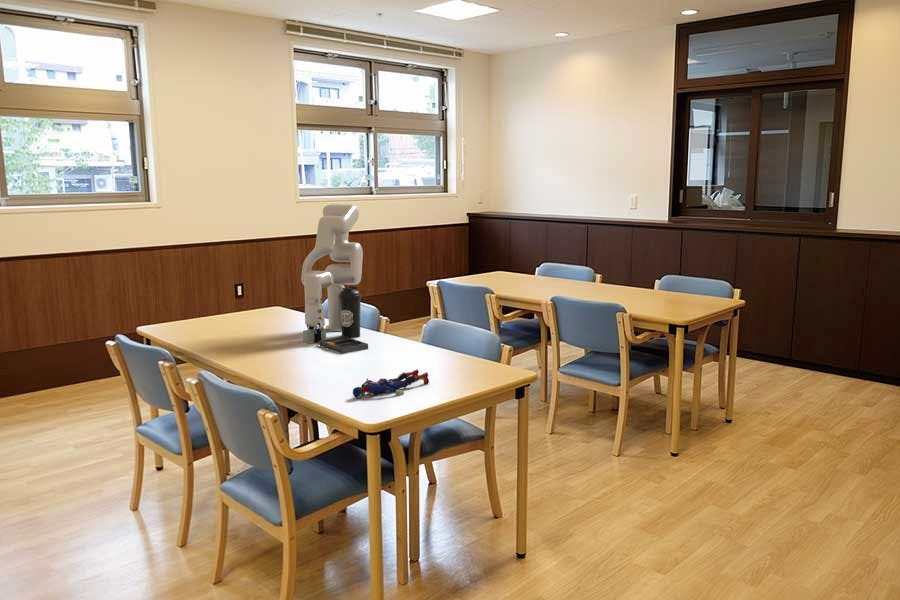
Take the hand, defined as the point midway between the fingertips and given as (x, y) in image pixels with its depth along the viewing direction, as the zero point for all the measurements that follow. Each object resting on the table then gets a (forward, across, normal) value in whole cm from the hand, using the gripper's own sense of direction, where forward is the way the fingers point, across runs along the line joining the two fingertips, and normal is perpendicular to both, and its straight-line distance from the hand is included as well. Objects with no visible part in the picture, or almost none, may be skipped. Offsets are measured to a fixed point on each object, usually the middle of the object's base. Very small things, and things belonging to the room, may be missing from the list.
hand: (314, 340), depth 311 cm
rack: (0, -18, -4) cm, 18 cm away
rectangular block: (+1, 0, 0) cm, 1 cm away
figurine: (+1, -81, +18) cm, 83 cm away
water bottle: (+1, -2, -18) cm, 18 cm away
